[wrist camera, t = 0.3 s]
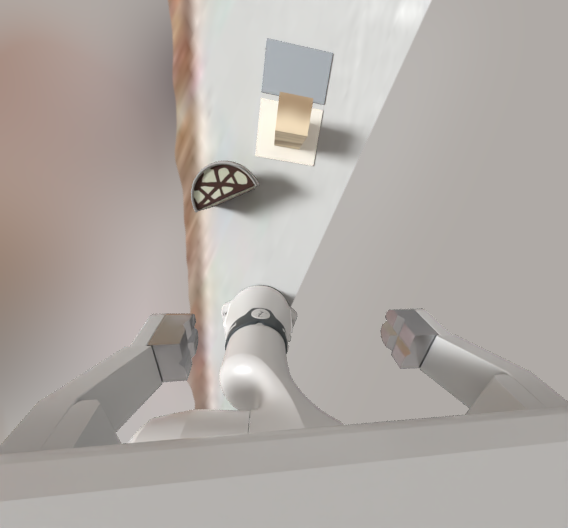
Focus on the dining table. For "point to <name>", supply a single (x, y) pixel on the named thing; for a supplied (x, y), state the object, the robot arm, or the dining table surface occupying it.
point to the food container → (220, 184)
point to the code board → (294, 80)
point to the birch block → (292, 120)
